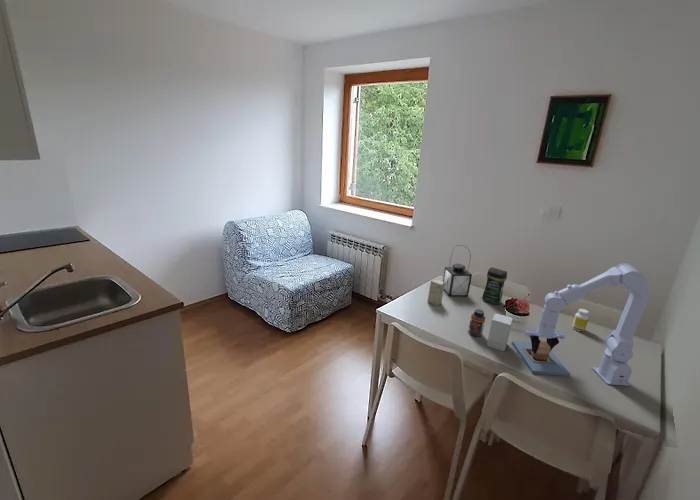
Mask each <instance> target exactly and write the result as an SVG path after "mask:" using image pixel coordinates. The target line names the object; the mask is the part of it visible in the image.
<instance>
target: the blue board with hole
mask: <svg viewBox="0 0 700 500" xmlns="http://www.w3.org/2000/svg"><path fill="white" fill-rule="evenodd" d="M511 345H512V346H513V348H514V349H515V351H516V352H517V353H518V355H519V357H520V359H522V361H523V362H524V364H525V365H526V367H527V368H528V369H529V371H530V372H531V373H532V374H538V375H551V376H564V377H570V375H571V373H570V372H569V370H568V369H567V368H566V366H565V365H564V364H563V363H562V362H561V361H560V359H558V356H556V355H555V353H554V352H553V351H552V350H551V351H550V353H549V356H548V359H547V360H534V358H533V357H532V356H531V354H529V353H531V350H532V343H531V341H521V340H520V341H517V340H511Z"/></svg>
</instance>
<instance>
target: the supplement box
mask: <svg viewBox="0 0 700 500" xmlns="http://www.w3.org/2000/svg"><path fill="white" fill-rule="evenodd" d="M512 323H513V318H512V317H510V316H507V315H502V314H499V313H497V312H496V313H494V314H493V316H492V319H491V323H490V324H491V325H490V328H489V333H488V339H487V342H486V346H487V347H490V348H493V349H495V350H499V351H501V352H505V350H506V347H507V344H508V341H509V340H508V339H509V336H510V332H511V328H512Z"/></svg>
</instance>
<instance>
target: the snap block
mask: <svg viewBox="0 0 700 500" xmlns="http://www.w3.org/2000/svg"><path fill="white" fill-rule="evenodd" d="M540 341H541V342H540V344H539V346H538V348H537V352H536V353H533V351H532V350H531V352H530V355H532V356H533V359H535V360H537V361H548V360H549V359H548V356H549V352H550V348H551V347H550V346H549V345H548V343H547V342H546V341H547V340H540Z"/></svg>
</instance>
